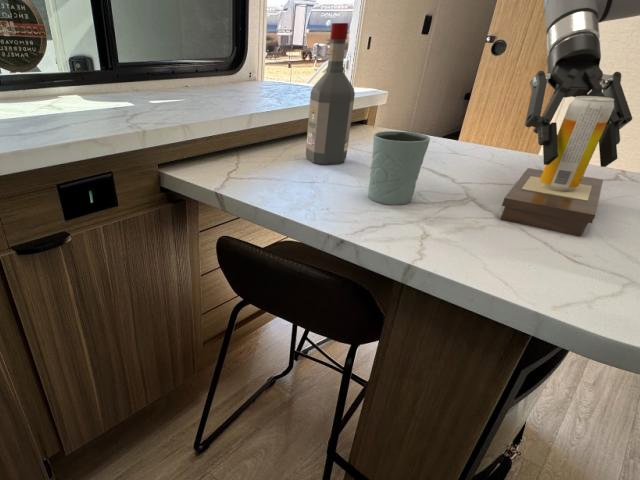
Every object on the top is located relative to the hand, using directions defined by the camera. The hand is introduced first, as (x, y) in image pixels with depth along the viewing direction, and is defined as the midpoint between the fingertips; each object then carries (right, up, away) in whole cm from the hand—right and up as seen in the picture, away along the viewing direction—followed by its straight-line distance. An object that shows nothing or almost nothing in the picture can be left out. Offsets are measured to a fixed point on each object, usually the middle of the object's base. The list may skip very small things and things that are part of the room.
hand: (579, 161), depth 71 cm
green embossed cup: (-28, -3, +14) cm, 31 cm away
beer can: (0, -3, +6) cm, 7 cm away
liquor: (-36, +13, +38) cm, 54 cm away
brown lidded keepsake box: (0, -6, +8) cm, 10 cm away
